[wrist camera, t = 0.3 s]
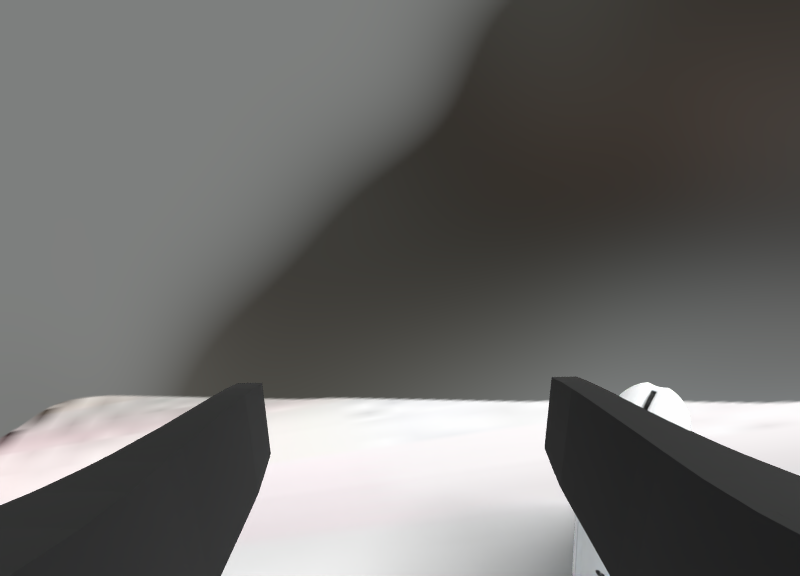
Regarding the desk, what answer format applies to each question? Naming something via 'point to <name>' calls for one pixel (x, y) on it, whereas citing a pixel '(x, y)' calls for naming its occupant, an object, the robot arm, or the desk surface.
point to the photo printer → (659, 401)
